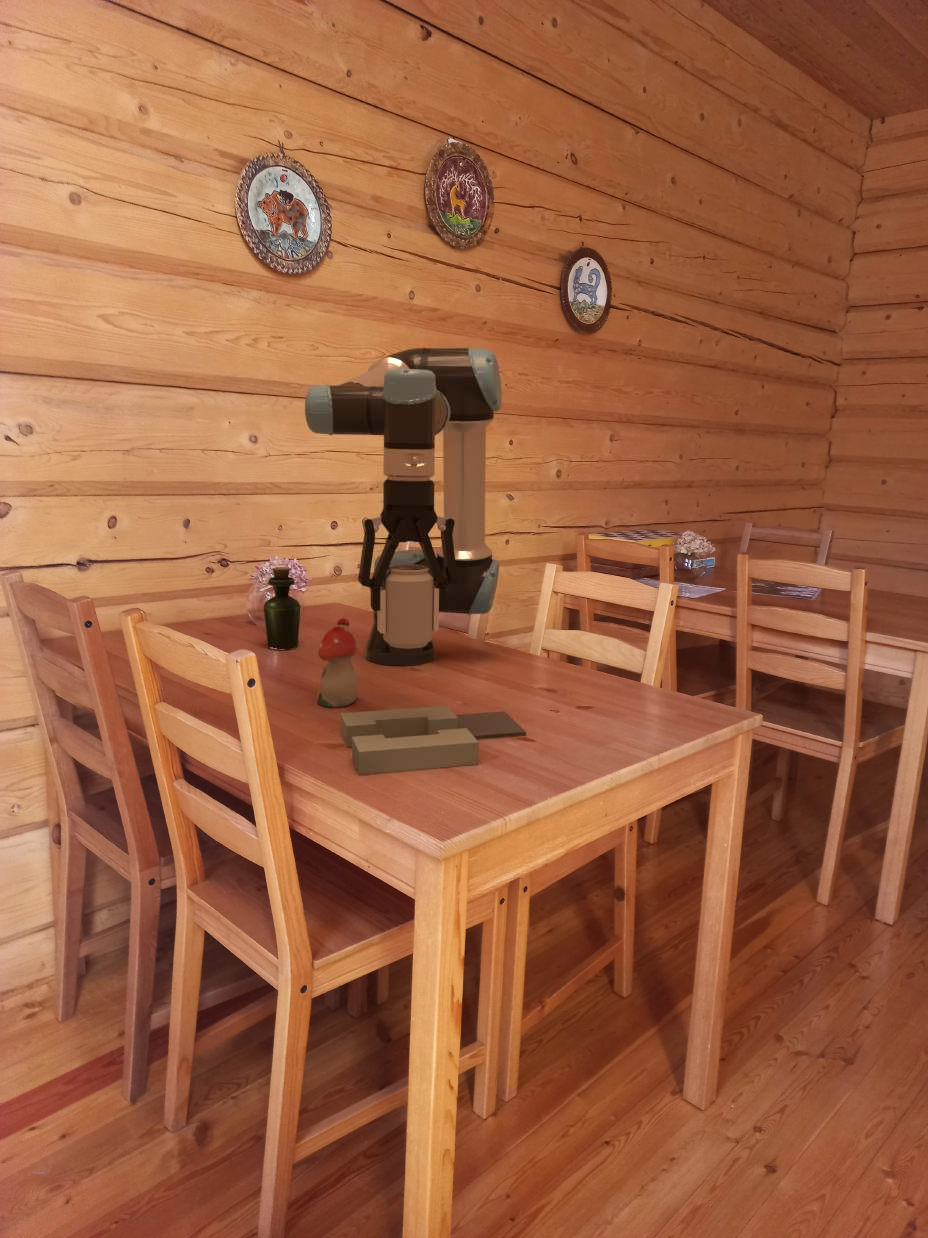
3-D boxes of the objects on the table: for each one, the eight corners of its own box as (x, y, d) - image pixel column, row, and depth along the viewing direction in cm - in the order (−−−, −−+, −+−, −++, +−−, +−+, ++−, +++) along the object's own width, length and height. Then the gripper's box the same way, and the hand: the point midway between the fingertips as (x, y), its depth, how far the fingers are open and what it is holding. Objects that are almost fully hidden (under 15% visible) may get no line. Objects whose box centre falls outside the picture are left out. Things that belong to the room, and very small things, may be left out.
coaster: (444, 719, 153) (444, 715, 153) (504, 714, 156) (504, 711, 156) (462, 740, 143) (462, 736, 143) (526, 735, 146) (526, 731, 146)
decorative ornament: (340, 693, 167) (339, 615, 164) (368, 699, 164) (368, 619, 160) (307, 705, 159) (306, 624, 156) (336, 712, 156) (336, 628, 153)
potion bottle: (271, 653, 195) (269, 572, 191) (259, 645, 201) (257, 566, 198) (306, 649, 199) (305, 569, 195) (294, 641, 205) (292, 564, 202)
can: (438, 648, 133) (439, 569, 131) (390, 651, 131) (390, 570, 128) (424, 636, 140) (424, 561, 138) (377, 639, 138) (377, 563, 135)
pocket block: (340, 733, 145) (340, 713, 144) (446, 725, 150) (447, 705, 149) (359, 775, 128) (359, 752, 127) (478, 764, 133) (478, 742, 132)
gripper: (343, 479, 124) (345, 639, 129) (482, 480, 129) (478, 632, 134) (336, 476, 131) (337, 627, 136) (468, 477, 136) (465, 622, 141)
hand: (407, 630), depth 135 cm, fingers closed on can, 7 cm apart
